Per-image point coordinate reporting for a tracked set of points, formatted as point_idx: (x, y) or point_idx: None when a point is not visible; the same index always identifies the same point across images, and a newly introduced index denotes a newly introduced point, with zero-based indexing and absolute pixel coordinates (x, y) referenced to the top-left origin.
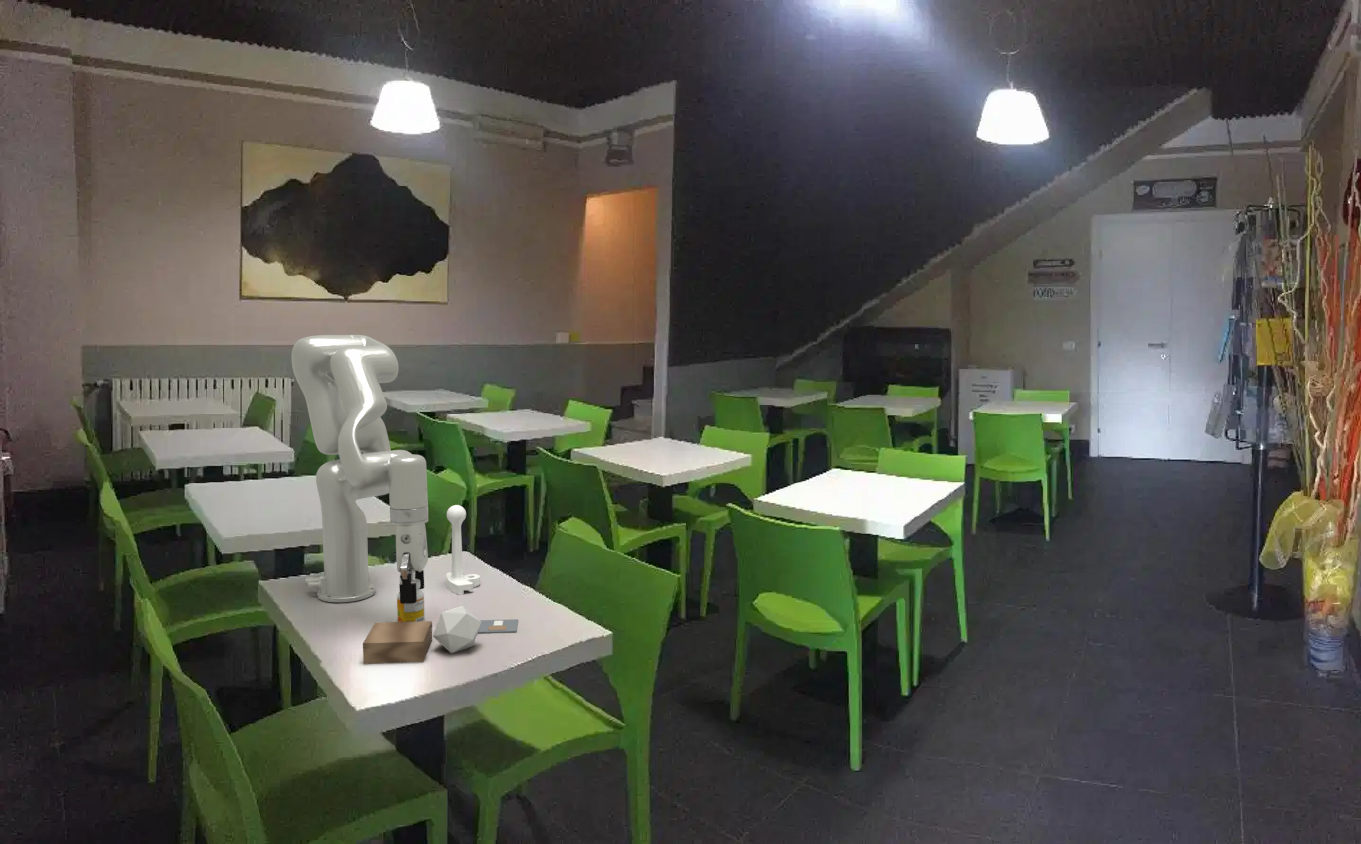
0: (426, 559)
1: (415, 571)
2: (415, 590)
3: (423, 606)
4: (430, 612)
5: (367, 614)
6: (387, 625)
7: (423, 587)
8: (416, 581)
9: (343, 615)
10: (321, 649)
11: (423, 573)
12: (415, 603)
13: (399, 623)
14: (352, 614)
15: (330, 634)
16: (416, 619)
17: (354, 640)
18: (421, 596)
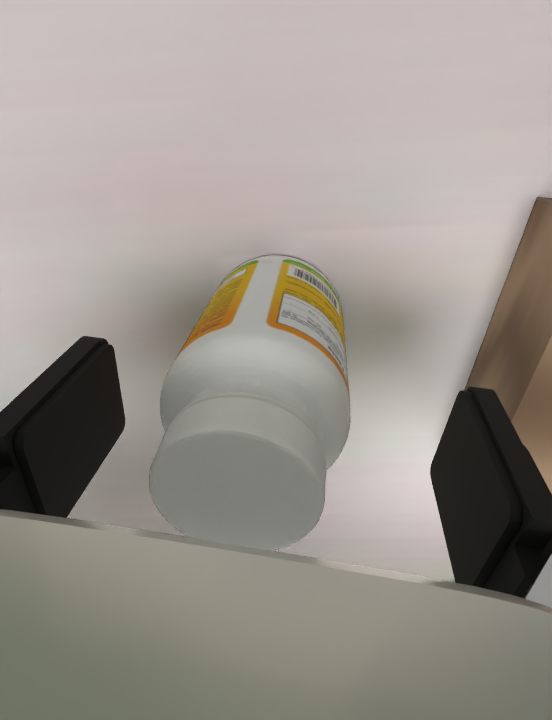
0: (25, 603)
1: (28, 492)
2: (527, 462)
3: (285, 298)
4: (75, 229)
5: (121, 470)
6: (544, 464)
7: (99, 342)
8: (244, 457)
9: (134, 528)
10: (451, 567)
11: (18, 413)
12: (343, 365)
13: (541, 414)
14: (123, 508)
15: (315, 552)
16: (336, 311)
17: (398, 498)
18: (302, 347)
